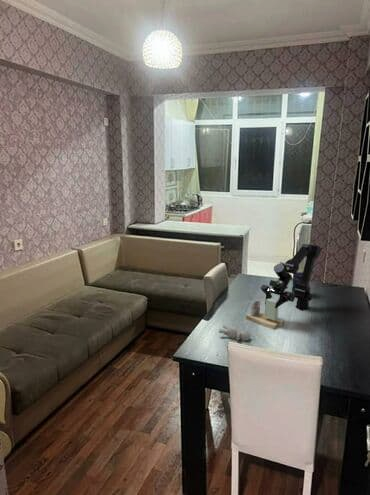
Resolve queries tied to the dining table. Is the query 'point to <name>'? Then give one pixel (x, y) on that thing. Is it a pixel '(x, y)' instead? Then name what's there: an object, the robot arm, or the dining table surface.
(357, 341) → the dining table surface
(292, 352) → the dining table surface
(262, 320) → the tan board with upright
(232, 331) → the bunny figurine
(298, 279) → the storage jar
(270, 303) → the sage book
